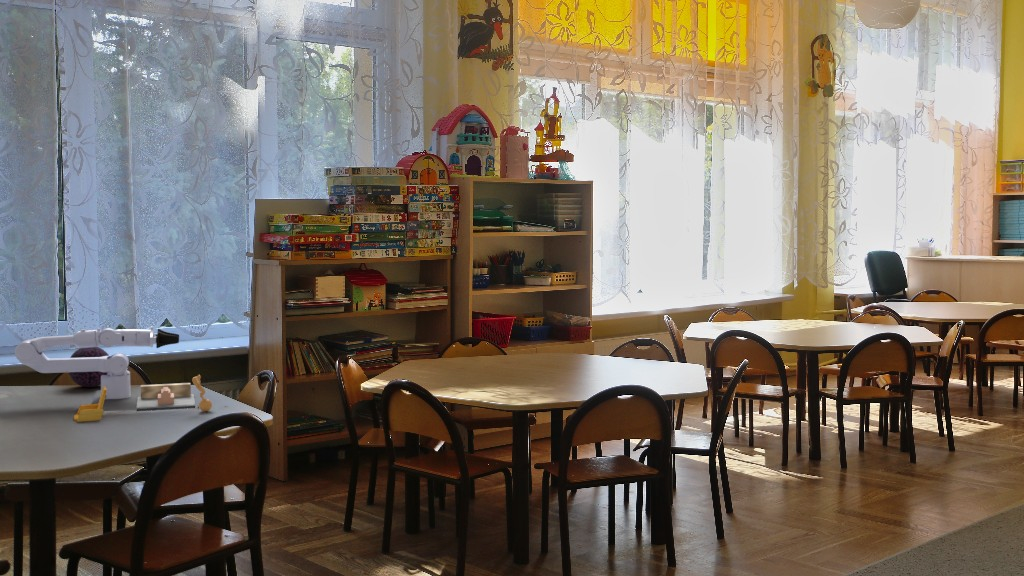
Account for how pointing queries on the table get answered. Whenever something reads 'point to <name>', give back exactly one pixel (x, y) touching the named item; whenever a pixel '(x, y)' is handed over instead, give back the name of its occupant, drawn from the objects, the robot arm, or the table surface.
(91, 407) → the yellow toy chair
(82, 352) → the toy ball
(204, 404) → the figurine
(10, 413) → the table surface
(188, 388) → the pine batten
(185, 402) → the board
